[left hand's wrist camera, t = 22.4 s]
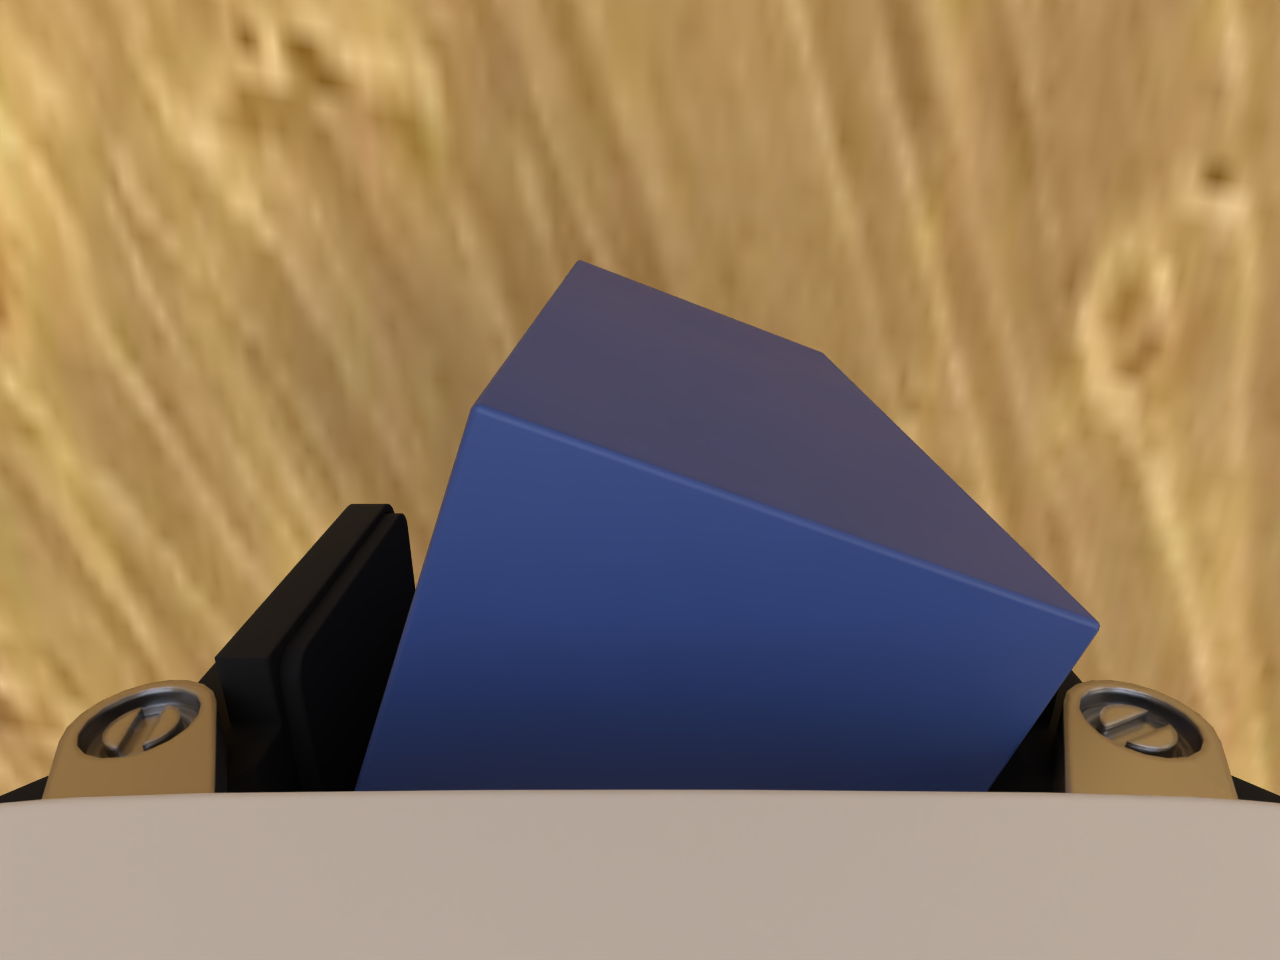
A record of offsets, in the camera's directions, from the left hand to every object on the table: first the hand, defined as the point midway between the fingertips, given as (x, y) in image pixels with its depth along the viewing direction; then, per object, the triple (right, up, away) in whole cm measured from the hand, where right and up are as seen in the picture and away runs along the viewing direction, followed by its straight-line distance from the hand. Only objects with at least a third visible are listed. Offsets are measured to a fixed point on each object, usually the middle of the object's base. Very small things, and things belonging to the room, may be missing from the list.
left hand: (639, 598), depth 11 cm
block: (0, +2, +5) cm, 5 cm away
